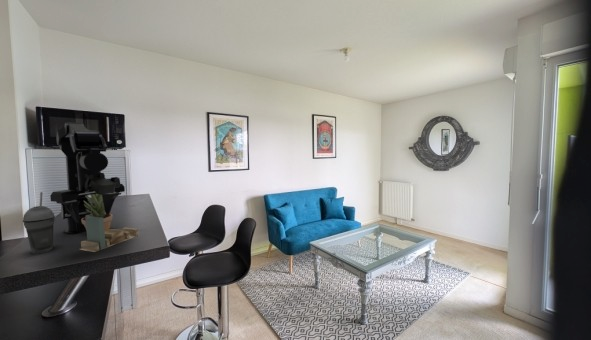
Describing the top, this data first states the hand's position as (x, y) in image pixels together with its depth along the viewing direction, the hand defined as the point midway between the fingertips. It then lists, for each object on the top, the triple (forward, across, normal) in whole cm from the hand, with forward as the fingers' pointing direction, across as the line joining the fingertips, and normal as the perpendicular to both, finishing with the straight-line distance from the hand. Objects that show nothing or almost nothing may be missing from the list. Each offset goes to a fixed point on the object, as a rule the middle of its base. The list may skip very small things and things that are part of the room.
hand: (93, 218), depth 82 cm
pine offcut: (+8, +5, 0) cm, 10 cm away
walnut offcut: (+10, +5, 0) cm, 11 cm away
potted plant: (+11, +11, +15) cm, 22 cm away
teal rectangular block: (+10, 0, 0) cm, 10 cm away
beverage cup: (+11, -7, +14) cm, 19 cm away
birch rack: (+11, +5, 0) cm, 12 cm away
